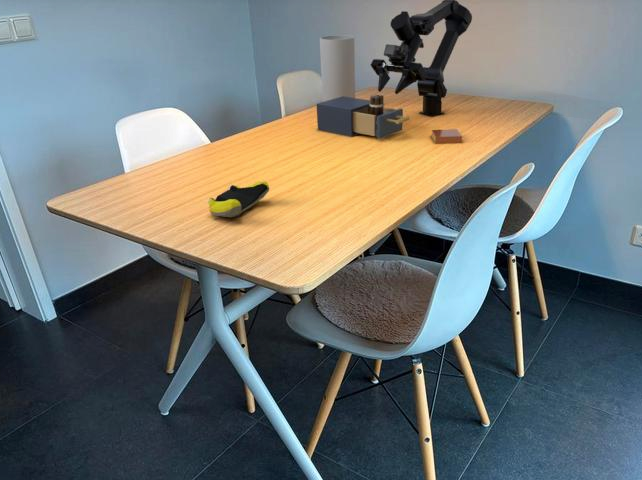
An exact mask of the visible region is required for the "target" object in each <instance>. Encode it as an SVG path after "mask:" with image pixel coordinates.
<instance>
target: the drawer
mask: <svg viewBox="0 0 642 480" xmlns="http://www.w3.org/2000/svg"><path fill="white" fill-rule="evenodd" d="M352 114H353V132H356V133H360V134H362V135H366V136H371V137H372V136H373V137H376V140H377V139H378V140H381V139H383V138H386V137H388V136H391V135H393V134H395V133H396V134H397V133H398V132H402V131H403V123H404V122H407V121H410V116H409V115H407V116H404V109H403V108H397V109H396V108H392V107H386V106H384V107H383V114H382V115H379V116H377V130H376V115H370V106H369V107H365V108H362V109H359V110H356V111H353V112H352Z"/></svg>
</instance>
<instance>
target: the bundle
mask: <svg viewBox="0 0 642 480" xmlns="http://www.w3.org/2000/svg"><path fill="white" fill-rule="evenodd" d="M369 98H370V99H369V100H370V104H369V106H370V115H376V130H377V116H379V115H382V114H383V107H385V102H384V95H382V94H381V95H380V94H375V95H370V97H369Z"/></svg>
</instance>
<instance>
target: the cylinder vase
mask: <svg viewBox="0 0 642 480" xmlns="http://www.w3.org/2000/svg"><path fill="white" fill-rule="evenodd" d="M319 51H320V52H319V53H320V74H321V75H320V77H321V92H322V93H321V96H322V97H321V98H322V102H325V101H328V100H332V99H335V98H339V97H342V96H344V97H351V98H356V59H355V58H356V56H355V36H353V35H343V34H341V35H340V34H339V35H325V36H321V37H319Z"/></svg>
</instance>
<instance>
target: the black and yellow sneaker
mask: <svg viewBox="0 0 642 480" xmlns="http://www.w3.org/2000/svg"><path fill="white" fill-rule="evenodd" d="M269 191H270V186H269V183H268V182H267V181H257V182H255V183H253V184H251V185H248V186H246V187H240V186H238V185H236V184H235V185H234V184H231V185H229V186H228V189H227V190H225V191H223V192H222V193H221V194H219V195H217V196H216V197H215V198H213V197H208V198H206V201H207V203H208V205H209V206H208V209H209V213H210V214H211V215H213V216H214V217H221V218H223V217H224V218H234V217H235V218H237V217H239V216H241V215H242V213H243V212H244V211H246V210H248V209H250V208H251V207H252V206H254V205H256V204H257V202H259V201H260V200H262V199H263V198H265V196H266V195H267V194H268V193H269Z"/></svg>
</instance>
